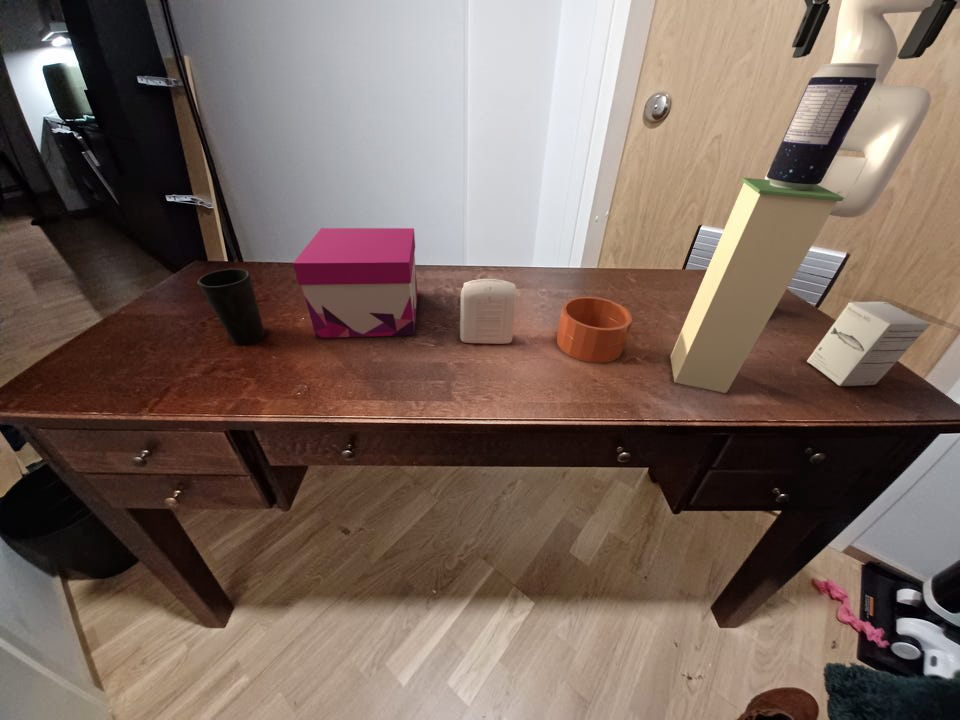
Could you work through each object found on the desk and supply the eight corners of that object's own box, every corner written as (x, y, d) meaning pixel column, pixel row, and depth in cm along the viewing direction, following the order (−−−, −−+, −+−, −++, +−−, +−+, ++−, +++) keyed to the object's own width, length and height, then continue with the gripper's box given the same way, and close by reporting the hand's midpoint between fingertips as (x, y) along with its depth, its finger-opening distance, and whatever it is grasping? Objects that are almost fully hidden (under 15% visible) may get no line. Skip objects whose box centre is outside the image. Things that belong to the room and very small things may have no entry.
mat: (813, 186, 49) (815, 183, 48) (842, 201, 42) (844, 197, 42) (741, 180, 51) (742, 177, 50) (758, 193, 44) (759, 190, 44)
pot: (600, 324, 77) (608, 293, 73) (635, 357, 68) (646, 325, 63) (546, 330, 74) (551, 300, 70) (575, 367, 65) (582, 333, 61)
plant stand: (717, 365, 66) (811, 187, 48) (726, 393, 60) (838, 200, 42) (670, 356, 68) (744, 181, 50) (674, 382, 62) (760, 193, 44)
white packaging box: (804, 361, 68) (846, 300, 61) (840, 360, 69) (887, 300, 61) (838, 387, 62) (890, 323, 55) (877, 386, 63) (934, 323, 55)
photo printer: (511, 333, 73) (517, 275, 66) (513, 345, 70) (520, 285, 62) (460, 333, 73) (460, 274, 65) (460, 345, 69) (459, 284, 62)
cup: (279, 330, 71) (259, 272, 64) (248, 351, 65) (221, 290, 58) (248, 323, 73) (225, 265, 66) (215, 342, 67) (186, 282, 60)
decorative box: (415, 336, 71) (408, 262, 62) (314, 339, 69) (292, 263, 60) (418, 292, 86) (413, 228, 77) (335, 294, 84) (321, 228, 75)
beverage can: (826, 193, 43) (898, 63, 36) (774, 189, 44) (834, 62, 37) (802, 183, 48) (862, 66, 41) (755, 180, 49) (806, 65, 42)
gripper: (1094, -213, 29) (930, 61, 40) (840, -183, 33) (751, 58, 44) (1207, -288, 24) (982, 55, 34) (884, -240, 28) (770, 53, 38)
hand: (852, 57), depth 39 cm, fingers open, 9 cm apart
